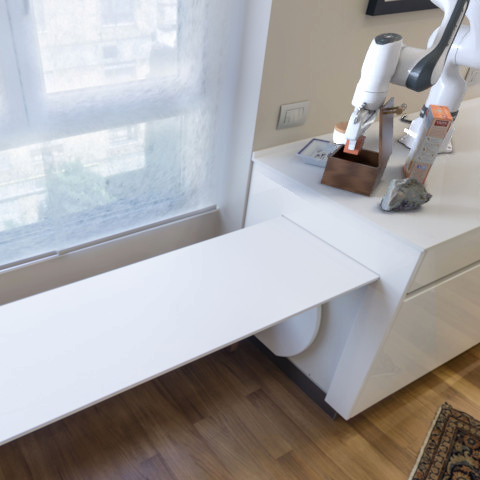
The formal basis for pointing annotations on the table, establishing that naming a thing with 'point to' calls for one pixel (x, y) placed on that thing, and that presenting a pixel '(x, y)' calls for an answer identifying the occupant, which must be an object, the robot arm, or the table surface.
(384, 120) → the lid
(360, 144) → the block
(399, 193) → the mineral rock
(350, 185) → the chest
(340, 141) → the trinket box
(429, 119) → the cracker box
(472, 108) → the table surface
